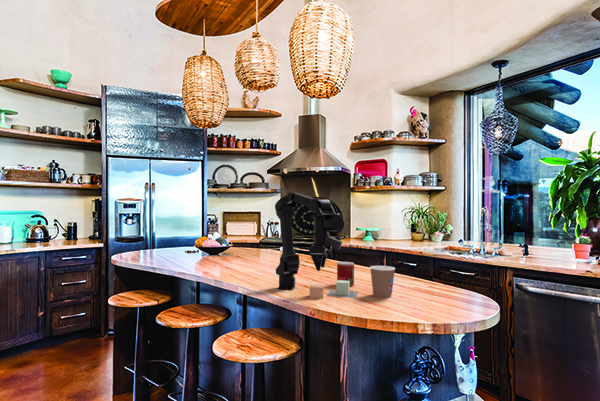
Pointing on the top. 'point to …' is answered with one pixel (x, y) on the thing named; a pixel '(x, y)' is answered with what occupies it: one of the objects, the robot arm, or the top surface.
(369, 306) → the top surface
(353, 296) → the baseplate
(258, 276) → the top surface
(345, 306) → the top surface
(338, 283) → the brick green
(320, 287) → the pinkish brown cube
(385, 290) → the coffee cup
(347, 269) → the canned food
